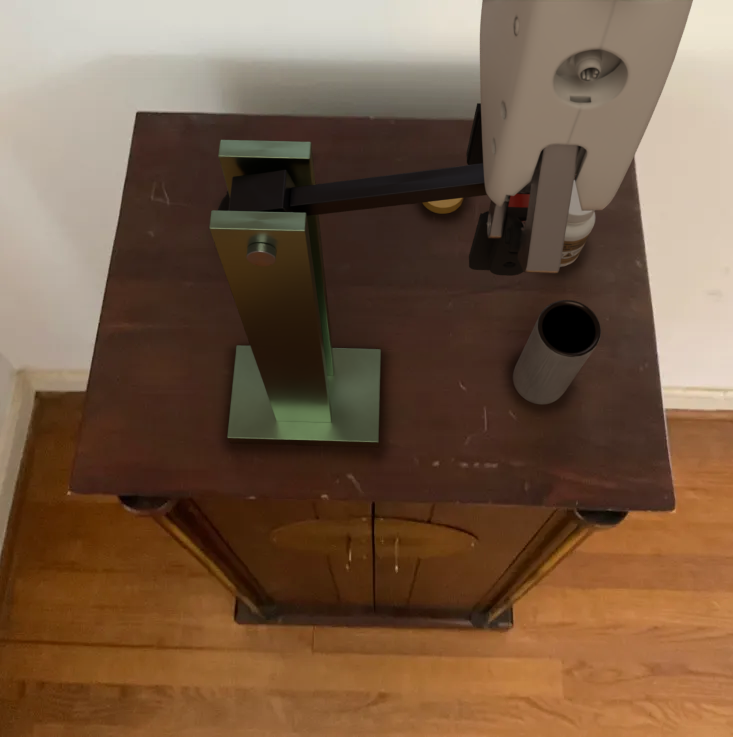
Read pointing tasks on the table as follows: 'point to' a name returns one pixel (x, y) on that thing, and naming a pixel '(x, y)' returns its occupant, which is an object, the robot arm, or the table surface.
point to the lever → (358, 191)
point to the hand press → (288, 319)
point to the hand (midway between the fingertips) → (499, 210)
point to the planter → (556, 351)
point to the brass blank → (443, 205)
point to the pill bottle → (576, 229)
